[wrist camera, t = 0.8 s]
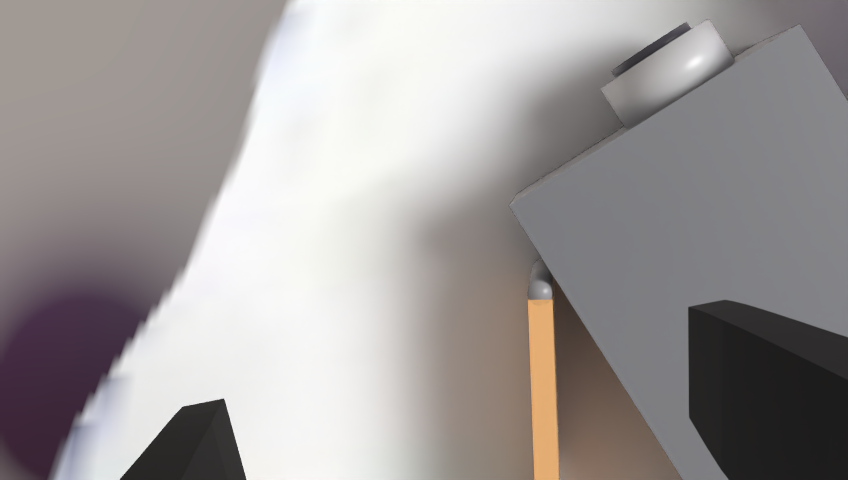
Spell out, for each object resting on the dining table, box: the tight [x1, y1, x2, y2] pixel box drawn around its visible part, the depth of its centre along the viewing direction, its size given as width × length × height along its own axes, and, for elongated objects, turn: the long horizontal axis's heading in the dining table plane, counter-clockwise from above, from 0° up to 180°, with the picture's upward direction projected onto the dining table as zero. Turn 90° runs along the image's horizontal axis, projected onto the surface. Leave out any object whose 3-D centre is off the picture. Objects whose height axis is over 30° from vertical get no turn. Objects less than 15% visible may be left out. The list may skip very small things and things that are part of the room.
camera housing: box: [509, 19, 848, 480], centre depth 25 cm, size 19×10×6 cm, turn 33°
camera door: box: [528, 259, 560, 480], centre depth 27 cm, size 11×1×4 cm, turn 3°
